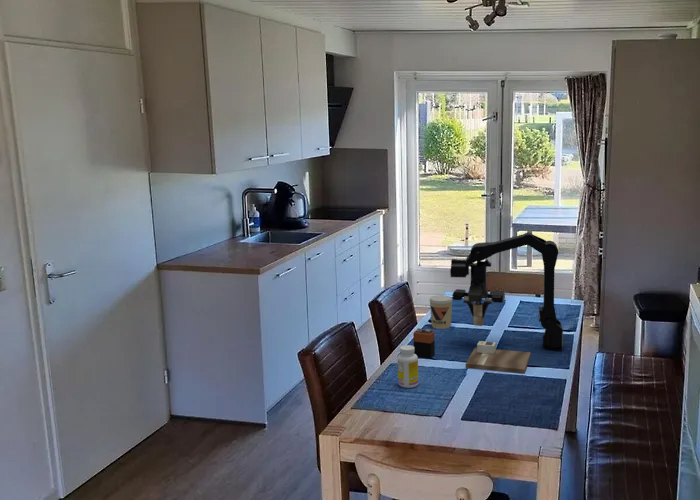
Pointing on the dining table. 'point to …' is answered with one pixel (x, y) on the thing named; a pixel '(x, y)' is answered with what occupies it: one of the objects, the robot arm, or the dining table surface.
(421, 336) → the battery
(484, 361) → the board
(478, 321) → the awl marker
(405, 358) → the supplement bottle
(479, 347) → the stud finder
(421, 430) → the dining table surface
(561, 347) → the robot arm
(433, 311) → the coffee cup
